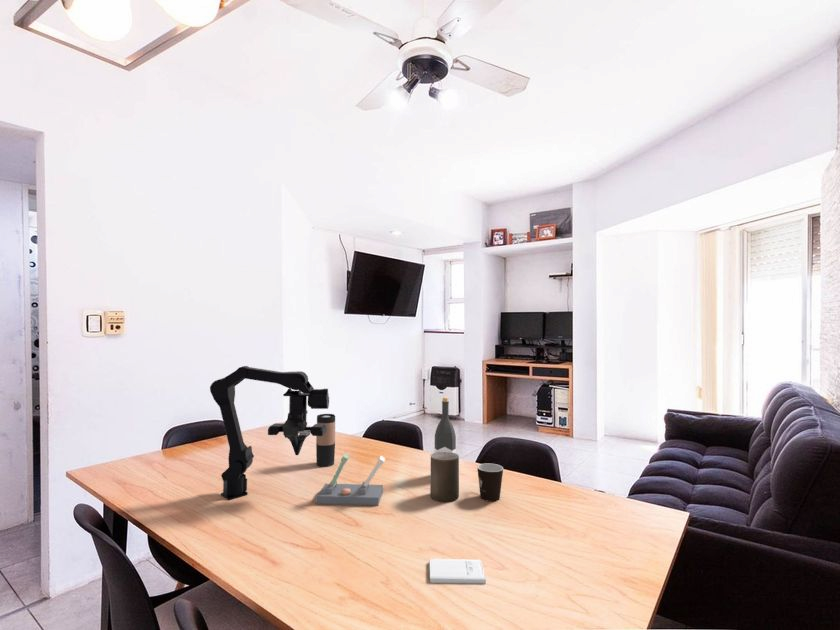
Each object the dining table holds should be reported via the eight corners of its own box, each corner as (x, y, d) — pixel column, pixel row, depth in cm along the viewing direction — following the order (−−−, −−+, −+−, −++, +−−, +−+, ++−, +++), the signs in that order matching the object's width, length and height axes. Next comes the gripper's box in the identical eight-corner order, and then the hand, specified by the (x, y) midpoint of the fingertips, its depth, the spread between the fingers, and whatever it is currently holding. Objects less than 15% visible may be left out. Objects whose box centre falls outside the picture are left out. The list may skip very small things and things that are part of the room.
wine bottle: (455, 473, 165) (456, 396, 166) (455, 480, 157) (455, 399, 158) (435, 472, 166) (435, 395, 167) (433, 479, 158) (434, 399, 159)
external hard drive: (429, 564, 102) (480, 565, 102) (429, 585, 94) (485, 585, 94) (429, 557, 102) (480, 558, 102) (429, 577, 94) (485, 578, 94)
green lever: (325, 489, 139) (342, 456, 139) (329, 485, 143) (345, 452, 143) (331, 492, 139) (347, 459, 139) (334, 487, 143) (350, 455, 143)
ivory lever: (358, 490, 138) (378, 458, 139) (361, 485, 143) (380, 454, 143) (364, 493, 138) (384, 462, 138) (366, 488, 143) (385, 458, 143)
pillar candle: (457, 503, 137) (457, 456, 137) (427, 500, 139) (428, 454, 139) (460, 492, 146) (460, 448, 147) (432, 489, 148) (433, 446, 149)
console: (316, 503, 136) (316, 490, 136) (325, 490, 147) (325, 478, 147) (378, 505, 135) (378, 492, 135) (382, 492, 146) (382, 479, 146)
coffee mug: (503, 504, 137) (503, 472, 137) (476, 501, 139) (476, 470, 139) (503, 490, 148) (503, 461, 149) (478, 488, 150) (478, 460, 150)
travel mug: (311, 465, 174) (312, 416, 174) (324, 460, 180) (325, 413, 181) (326, 468, 170) (327, 418, 171) (338, 463, 177) (339, 414, 178)
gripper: (261, 413, 137) (260, 461, 137) (318, 414, 136) (317, 463, 136) (274, 406, 148) (273, 451, 148) (327, 407, 148) (326, 452, 147)
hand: (297, 454), depth 144 cm, fingers closed
